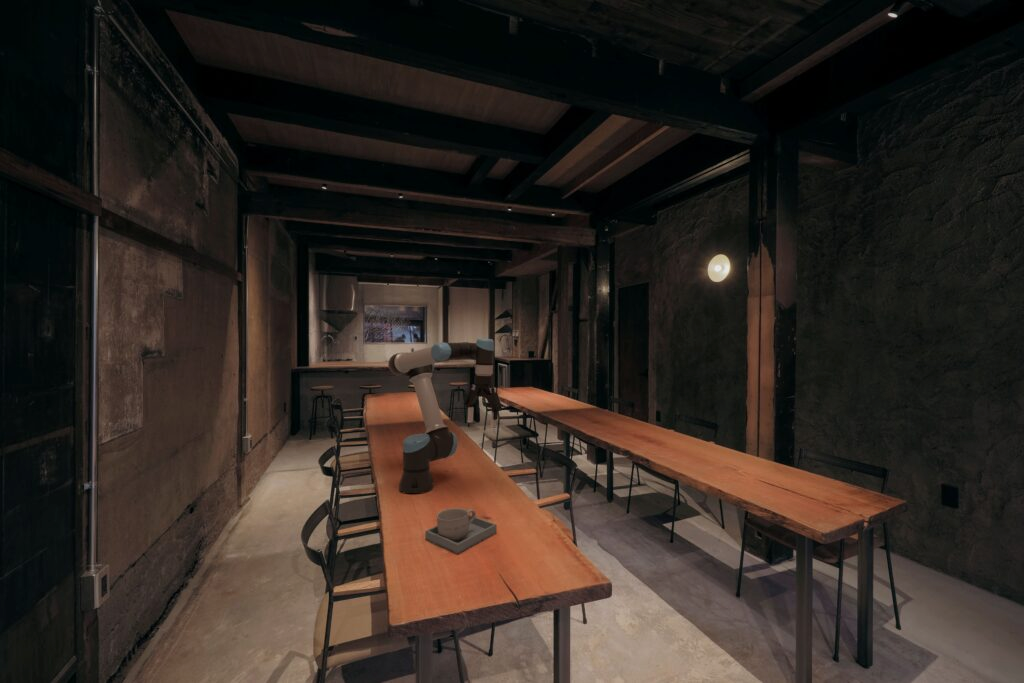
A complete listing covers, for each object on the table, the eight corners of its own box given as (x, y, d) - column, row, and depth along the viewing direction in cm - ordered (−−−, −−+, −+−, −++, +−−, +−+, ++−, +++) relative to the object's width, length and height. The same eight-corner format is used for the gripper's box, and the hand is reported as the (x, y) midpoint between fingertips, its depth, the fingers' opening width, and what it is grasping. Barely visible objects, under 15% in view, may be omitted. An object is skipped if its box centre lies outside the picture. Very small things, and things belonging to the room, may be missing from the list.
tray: (425, 539, 139) (425, 530, 139) (464, 521, 154) (464, 513, 154) (457, 554, 130) (457, 544, 130) (496, 533, 144) (496, 524, 144)
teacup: (441, 547, 133) (441, 522, 133) (432, 533, 143) (432, 509, 143) (482, 538, 139) (482, 514, 139) (471, 525, 149) (471, 503, 149)
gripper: (512, 377, 173) (509, 428, 173) (469, 372, 189) (467, 419, 189) (500, 377, 167) (497, 430, 167) (457, 372, 183) (454, 421, 183)
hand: (481, 424), depth 178 cm, fingers open, 13 cm apart
